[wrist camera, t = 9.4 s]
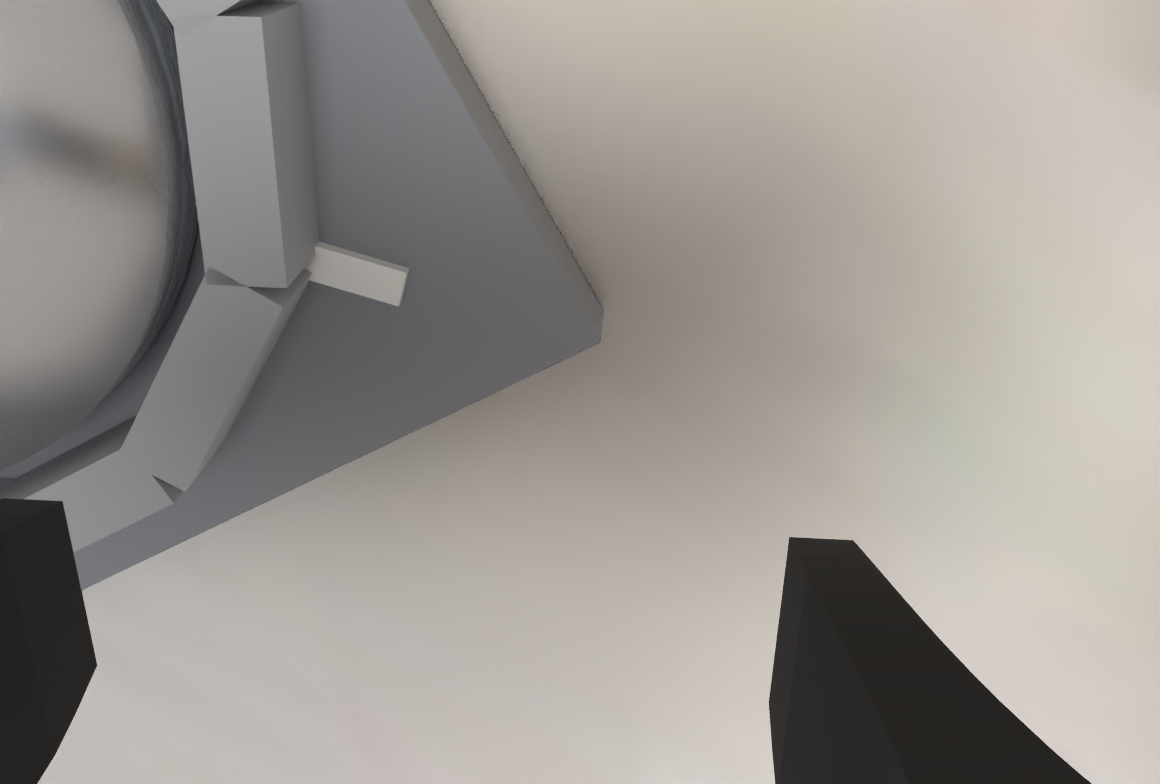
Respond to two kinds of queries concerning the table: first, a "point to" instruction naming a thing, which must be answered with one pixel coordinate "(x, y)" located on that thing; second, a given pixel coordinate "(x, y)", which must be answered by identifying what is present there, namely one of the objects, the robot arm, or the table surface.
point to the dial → (85, 206)
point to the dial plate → (317, 275)
